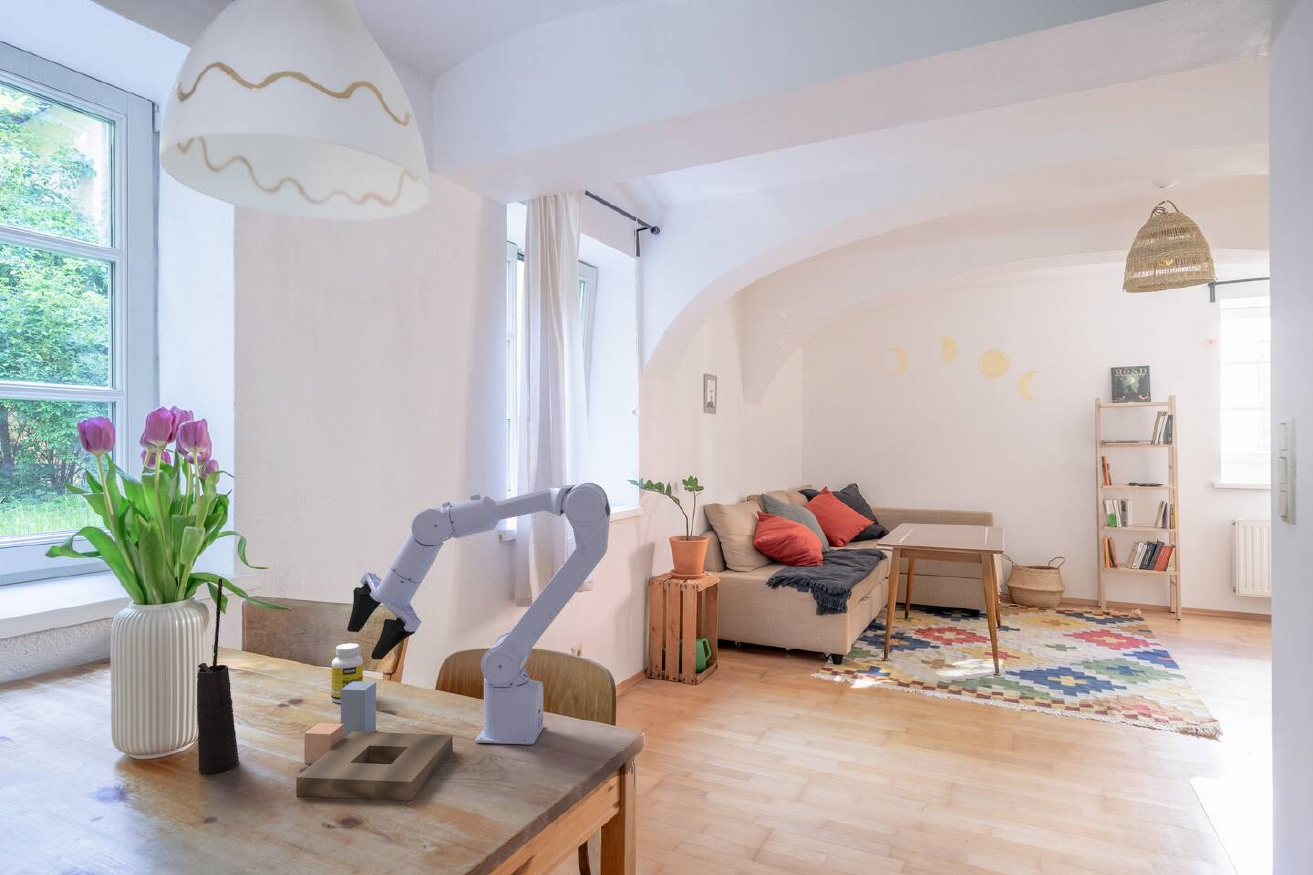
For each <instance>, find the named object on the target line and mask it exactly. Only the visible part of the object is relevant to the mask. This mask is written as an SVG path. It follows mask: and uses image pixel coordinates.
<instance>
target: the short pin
mask: <svg viewBox="0 0 1313 875" xmlns="http://www.w3.org/2000/svg"><path fill="white" fill-rule="evenodd" d="M343 739H344V724H341V723H327V722H325V723H323V722H322V723H321V722H318V723H317V724H315V725H314V726H313V727H311V728H310V729H308V730H307V731H306V732H304V745H303V746H304V749H303V750H304V753H303V754H304V764H313V763H314V762H316V761H317V760H318V759H319V758H321V757H322V756H323V755H324V754H326V753H327V752H328V751H329V750H331V749H332V748H333V747H334V746H335V745H337V744H338V743H339V742H340V741H342V740H343Z"/></svg>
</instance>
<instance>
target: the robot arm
mask: <svg viewBox="0 0 1313 875" xmlns="http://www.w3.org/2000/svg"><path fill="white" fill-rule="evenodd" d="M576 485H577V484H566V485H558V486H557V485H556V486H551V487H547V488H542V489H539V490H536V491H535V490H534V491H531V492H528V493H524V494H519V495H517V496H516V495H515V496H512V497H509V498H505V499H502V500H498V501H497V500H494V499H493V498H491V497H489V496H488V495H483V496H481V495H480V493H477V494H472V495H469V499H468V500H462V501H458V502H454V503H451V502H450V501H447V502H443V503H441V506H436V507H432V508H427V509H426V510H423V511H420V513H418V514H417V515H416V516H414V519H413V520H412V524H411V531H410V533H409V534H408V536H407V538H406V540H405V541H404V542H403V544H402V545H401V547H400V548H399V550H398V552H397V554H396V555H395V557H394V558H393V560H392V561H391V564H390V566H389V567H388V569H387V570H386V572H385V574H384V575H383V578H382V579H381V578H380V577H379V576H378V575H377V574H376V573H374V572H373V573H372V572H364V574H363V576H362V578H361V579H360V581H359V583H360V584H361V585H362V586H361V587H360V586H359V587H358V586H356V587H354V588H353V590H352V592H353V594H352V595H353V602H352V603H353V604H352V610H351V614H350V618H349V622H348V624H347V628H346V630H347V631H348V632H349V633H350V632H351V633H359V632H360V631H361V630H362V629H363V627H364V626H365V624H366V623H367V622H368V620H369V618H370V617H371V616H372V614H373V613H374V612H375V610H376V609H377V608H378V607H379V606H380V605H381V604H382V605H384V606H385V607H386V608H387V609H388V611H390V612H391V613H392V614H393V615H394V616H395V618H396V619H394V618H393V619H391V618H390V619H389V618H385V619H384V620H383V626H382V630H381V633H380V636H379V639H378V641H377V643H376V644H375V645H374V648H373V650H372V651H371V652H372V653H371V654H370V655H371V656H370V657H371V659H372V660H380V661H381V660H383V659H384V658H385V657H386V656H387V655H388V654H389V653H390V652H391V651H392V650H393V649H394V648H395V647H396V646H397V645H398V644H400V643H401V642H402V641H404V640H405V639H407V638H409V637H410V636H412V635H414V634H415V633H416V632H417V630H418V628H419V627H420V625H421V623H422V620H421V619H420V618H419V617H418V615H417V613H416V612H415V610H414V607H413V606H412V604H411V601H412V600H413V598H414V596H415V594H416V593H417V592H418V590H419V587H420V586H421V585H422V583H423V581H424V579H425V578H426V576H427V574H428V572H429V570H430V569H431V567H432V566H433V564H434V563H435V561H436V559H437V556H438V554H439V552H440V550H441V549H442V547H443V546H444V542H446V541H448V540H450V539H451V538H453V539H460V538H461V539H462V538H464V537H468V536H472V535H473V536H474V535H477V534H481V533H482V534H483V533H486V532H490V531H493V530H495V529H496V527H497V526H498V524H499V523H500V521H501V520H505V519H510V518H516V517H520V516H526V515H530V514H531V515H532V514H535V513H540V512H548V513H551V514H552V515H555V516H557V517H561V516H562V515H564V514H565V517H566V519H567V521H568V522H569V524H570V526H571V527H572V529H573V535H574V542H575V549H574V550H573V551H572V552H571V554H570V555H569V556H568V557H567V559H565V561H564V563H562V565H561V566H560V567H559V569H558V570H557V571H556V573H555V574H554V575H553V576H552V578H551V579H550V580H549V582H548V583H547V584H546V585H545V587H544V588H543V589H542V590H541V592H539V595H538V596H537V597H536V598H535V600H534V601H533V602H531V605H530V606H529V607H528V608H527V610H526V611H525V612H524V613H523V614H522V616H521V617H520V619H519V620H518V622H516V624H515V625H514V626H513V627H512V629H511V630H509V631H507V632H506V633H504V634H502V635H500V636H499V637H498V638H497V639H496V640H495V642H494V644H493V645H492V647H491V648H489V649H488V650H487V651H486V652H485V653H484V654H483V656H482V658H481V660H480V670H481V674H482V676H483V729H482V730H481V732H480V733H479V734H478V735H477V737H475V740H474V741H475V743H479V744H480V743H482V744H483V743H484V744H485V743H486V744H508V745H509V744H511V745H533V744H535V742H536V741H537V739H538V737H539V736H540V734H541V732H542V730H543V729H544V727H545V723H544V685H543V681H540V680H534V679H531V678H530V676H529V675H530V674H529V673H528V671H527V669H526V667H525V666H526V663H528V661H529V660H530V657H531V652H532V651H531V650H532V649H533V648H534V646H535V645H536V643H537V642H538V641H539V640H540V638H541V637H542V636H543V634H544V633H545V632H546V630H548V629H549V626H551V624H552V623H553V621H554V620H555V619H556V618H557V616H558V615H559V614H560V613H561V612H562V611H563V609H564V608H565V606H566V605H567V604H568V602H569V601H570V600H571V598H573V597H574V595H575V594H576V593H577V591H578V590H579V589H580V587H581V586H582V585H583V583H584V582H585V580H587V578H588V577H589V576H590V574H591V573H592V572H593V571H594V569H595V568H596V567H597V566H598V564H599V563H600V562H601V561H602V559H603V558H604V557H605V554H606V553H607V552H608V546H609V532H610V519H611V518H610V517H611V512H612V510H611V507H610V503H609V498H608V495H607V493H606V491H605V490H604V488H603V487H601V486H600V485H599V484H597V483H595V482H584V483H581V484H580V485H578V486H576Z"/></svg>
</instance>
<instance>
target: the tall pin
mask: <svg viewBox="0 0 1313 875" xmlns="http://www.w3.org/2000/svg"><path fill="white" fill-rule="evenodd" d="M340 724H344V738H345V737H347V736H348V735H349V734H350V733H351V732H353V731H357V732H377V731H376V730H377V682H376V681H363V682H355V681H353V682H351V683H350V684H348V685H347V686H345V687H344V688H342V689H341V703H340Z"/></svg>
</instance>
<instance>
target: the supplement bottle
mask: <svg viewBox="0 0 1313 875" xmlns="http://www.w3.org/2000/svg"><path fill="white" fill-rule="evenodd" d="M335 654H336V657H334V659H333V660H332V661H331V678H330V679H331V680H330V681H331V684H330V686H331V688H330V690H331V691H330V692H331V693H330V698H331V701H332V702H334V703H336V704H337V703H338V704H341V689H342V688H344V687H345V686H347V685H348V684H350V683H351V682H353V681H355V682H364V680H363V678H364V673H363V672H364V659H363V657H362V656H360V655H359V654H360V645H359V644H357V643H350V642H349V643H342V644H338V645H337V646H336V648H335Z"/></svg>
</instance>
